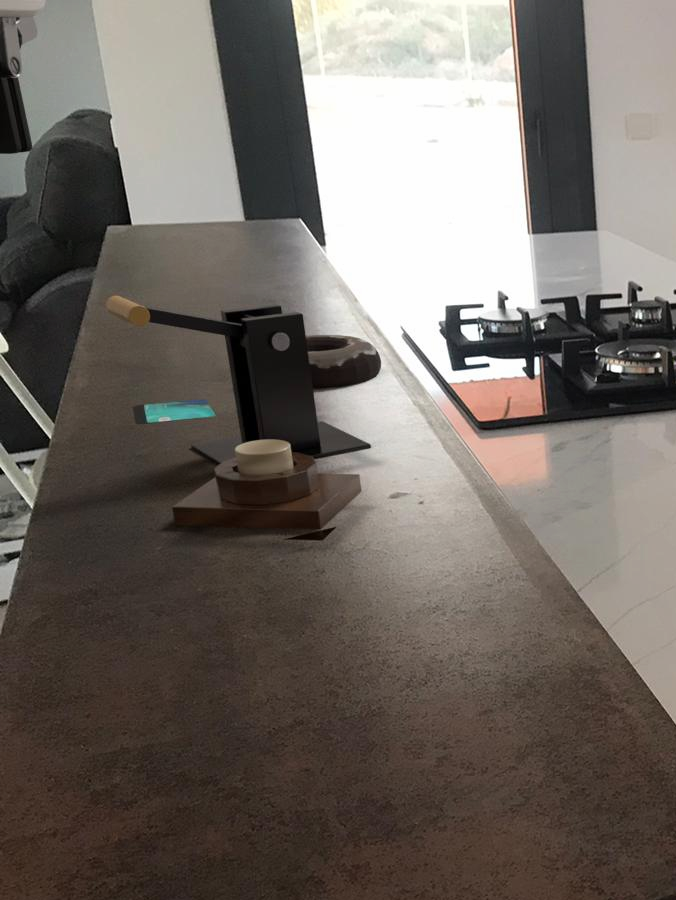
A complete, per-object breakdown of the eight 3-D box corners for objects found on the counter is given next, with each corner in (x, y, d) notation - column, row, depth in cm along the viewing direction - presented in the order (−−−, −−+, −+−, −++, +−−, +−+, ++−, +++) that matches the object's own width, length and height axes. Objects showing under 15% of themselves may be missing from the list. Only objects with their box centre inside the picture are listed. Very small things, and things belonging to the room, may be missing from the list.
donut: (264, 372, 129) (258, 333, 128) (385, 367, 132) (381, 329, 131) (249, 401, 119) (242, 359, 118) (381, 396, 122) (376, 354, 120)
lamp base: (177, 537, 87) (166, 481, 86) (229, 498, 94) (220, 446, 93) (322, 541, 87) (314, 485, 85) (363, 502, 94) (356, 450, 93)
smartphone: (319, 407, 115) (133, 425, 108) (320, 415, 115) (135, 433, 109) (307, 388, 121) (130, 404, 114) (308, 396, 121) (132, 413, 114)
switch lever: (126, 331, 90) (130, 297, 90) (103, 319, 94) (107, 287, 93) (293, 359, 99) (298, 328, 99) (267, 348, 103) (271, 318, 102)
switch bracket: (236, 486, 97) (211, 330, 92) (193, 458, 103) (166, 311, 98) (372, 458, 104) (355, 312, 99) (324, 434, 110) (305, 295, 105)
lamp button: (229, 477, 88) (225, 453, 87) (251, 462, 91) (247, 438, 90) (281, 479, 88) (277, 454, 87) (301, 463, 91) (298, 439, 90)
